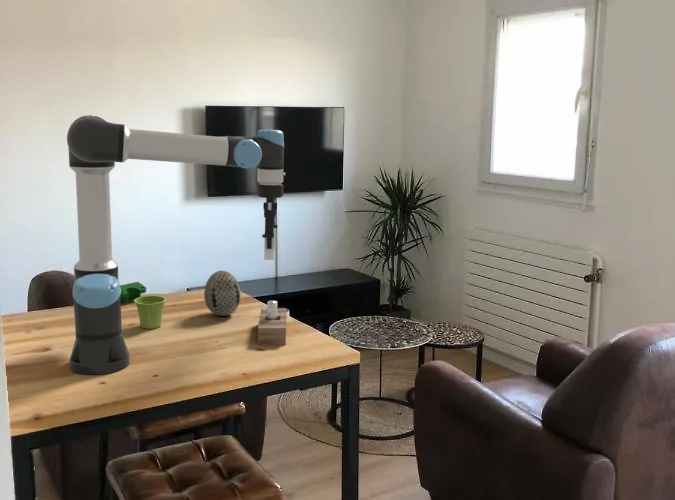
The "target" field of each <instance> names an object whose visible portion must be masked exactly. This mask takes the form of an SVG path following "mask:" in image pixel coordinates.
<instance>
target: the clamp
mask: <svg viewBox="0 0 675 500" xmlns="http://www.w3.org/2000/svg"><path fill="white" fill-rule="evenodd" d="M120 288H121V294H120V300H121V303H123V304H124V305H125V306H126V305H128V304H129V301H132V300H133V301H134V300H135V299H136V298H139V297H142V296H141V295H142V294H145V293H146V292H147V287H146V286H145V285H144V284H142V283H140V282H139V281H135V282H130V283H125V284H121V285H120Z"/></svg>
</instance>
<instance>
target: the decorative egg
mask: <svg viewBox="0 0 675 500" xmlns="http://www.w3.org/2000/svg"><path fill="white" fill-rule="evenodd" d="M203 293H204V295H203V296H204V298H203V299H204V302H205V305H206V308H207V309H208V311H210V312H212V314H214V315H216V316H218V317H219V316H220V317H226V316H229V315H231V314H233V313H234V312H235V311H236V310H237V308H238V307H239V304H240V302H241V288H240V285H239V282H238V280H237V279H236V277H235V276H234V275H233V274H232V273H230V272H229V271H226V270H217V271H214V272H213V274H211V275H210V276H209V277H208V279H207V281H206V282H205V286H204V291H203Z"/></svg>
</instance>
